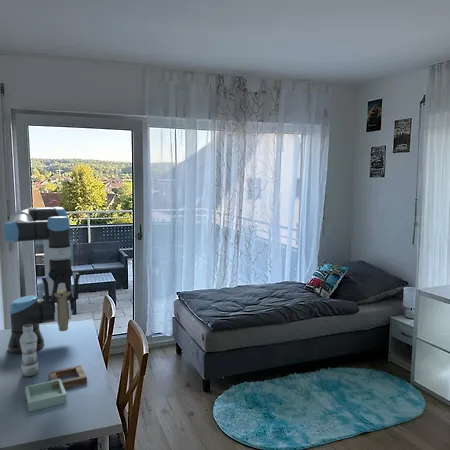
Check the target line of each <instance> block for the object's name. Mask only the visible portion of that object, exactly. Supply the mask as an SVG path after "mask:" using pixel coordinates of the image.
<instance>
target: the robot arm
mask: <svg viewBox="0 0 450 450" xmlns="http://www.w3.org/2000/svg"><path fill="white" fill-rule="evenodd" d="M70 228H71V224H70V218H69V217H68V215H67V212H66V210H65V208H64V207H63V206H46V207H45V206H44V207H26V208H22V209H19V210H17V211H15V212H14V213H12V214H11V215H10V217H9V219H8V221H6V222H4V223H3V239H4V241H5V242H7V243H16V242H17V243H18V242H30V241H31V242H32V241H43V244H42V245H43V259H44V260H43V261H44V276H41V278H40V279H41V282H43V291H44V292H43V293H42V297H41V298H39V297H38V295H36V294H35V295H31V294H30V295H26V296H21V297H19V298H16V299H14V300H13V301H11V302H10V305H9V309H10V310H9V314H10V328H11V329H10V330H11V331H10V332H11V334H10V337H9V340H8V345H7V350H8V351H7V352H8V353H11V354H15V355H22V350H21V345H20V337H21V335H22V334H23V326H24V325H28V324H32V325H33V332H34V333H35V334H36V335H37V350H36V351H38V350H40V349H42V348H44V346H45V339H44V336H43V334H42V331H41V329H40V325H41V324H47V323H54V322H55V323H58V310H57V297H55V296H54V293H57V290H67V291H71V294H70V295H69V296H67V306H68V315H69V316H68V317H69V321H70V320H72V313H73V310H74V308H75V307H74V302H75V301H76V300H77V301H78V300H79V279H80V277H81V274H80V272H74V271H73V270H72V259H71V256H72V255H71V254H72V253H71V252H72V251H71V233H70V231H71V230H70ZM71 278H73V293H72V289H71V287H70V279H71ZM52 292H53V293H52Z"/></svg>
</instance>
